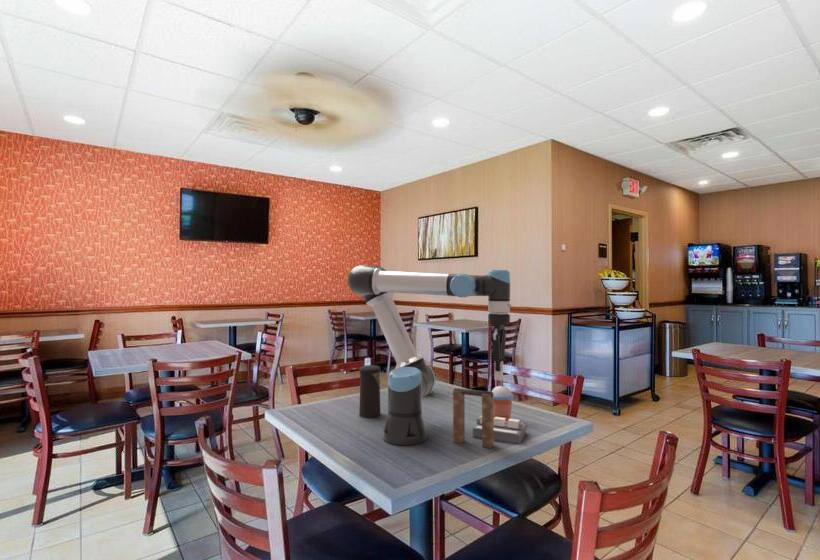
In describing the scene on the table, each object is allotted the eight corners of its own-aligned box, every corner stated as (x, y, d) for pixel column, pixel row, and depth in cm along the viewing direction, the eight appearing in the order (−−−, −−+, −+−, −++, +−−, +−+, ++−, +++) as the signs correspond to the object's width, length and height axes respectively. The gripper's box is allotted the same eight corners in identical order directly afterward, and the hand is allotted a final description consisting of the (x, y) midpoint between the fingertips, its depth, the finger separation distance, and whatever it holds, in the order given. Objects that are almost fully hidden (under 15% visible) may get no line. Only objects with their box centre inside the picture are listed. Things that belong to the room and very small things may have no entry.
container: (383, 416, 174) (383, 366, 175) (361, 419, 171) (361, 368, 171) (377, 410, 182) (377, 363, 183) (356, 413, 179) (356, 364, 179)
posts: (453, 442, 146) (452, 390, 146) (456, 438, 149) (456, 388, 149) (490, 448, 140) (490, 394, 140) (493, 444, 143) (493, 392, 143)
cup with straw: (496, 426, 162) (496, 378, 162) (485, 419, 170) (485, 373, 171) (518, 424, 164) (517, 376, 164) (506, 417, 173) (506, 372, 173)
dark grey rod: (452, 393, 147) (452, 388, 147) (454, 392, 148) (454, 387, 148) (492, 398, 141) (492, 392, 141) (494, 396, 142) (494, 391, 142)
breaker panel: (472, 436, 151) (472, 422, 151) (482, 426, 161) (482, 413, 161) (519, 443, 144) (519, 428, 144) (526, 432, 154) (526, 418, 154)
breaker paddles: (480, 423, 154) (480, 416, 154) (481, 421, 157) (481, 414, 157) (518, 428, 149) (518, 421, 149) (519, 426, 151) (519, 419, 151)
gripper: (505, 314, 146) (504, 384, 145) (513, 312, 157) (513, 377, 157) (483, 313, 149) (483, 382, 149) (493, 311, 161) (493, 375, 160)
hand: (498, 379), depth 153 cm, fingers closed
